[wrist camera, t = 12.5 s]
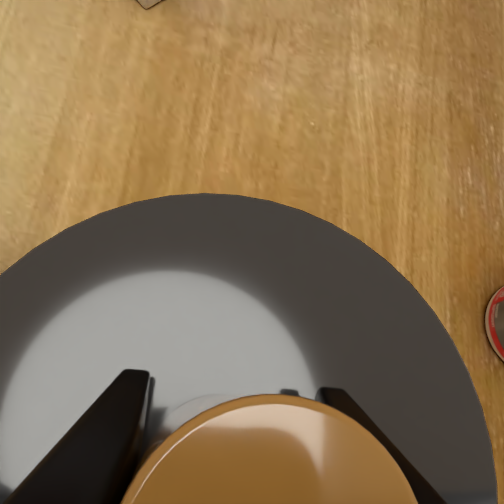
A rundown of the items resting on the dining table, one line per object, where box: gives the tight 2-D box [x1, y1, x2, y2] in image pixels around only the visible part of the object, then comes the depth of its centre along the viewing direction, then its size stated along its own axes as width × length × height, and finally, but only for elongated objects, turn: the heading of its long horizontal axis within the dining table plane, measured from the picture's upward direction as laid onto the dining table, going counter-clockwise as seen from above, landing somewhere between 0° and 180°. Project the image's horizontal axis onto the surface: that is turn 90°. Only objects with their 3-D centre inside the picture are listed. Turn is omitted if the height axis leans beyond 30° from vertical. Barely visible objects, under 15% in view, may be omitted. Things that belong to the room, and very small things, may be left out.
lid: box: [0, 193, 498, 504], centre depth 7 cm, size 11×11×7 cm
